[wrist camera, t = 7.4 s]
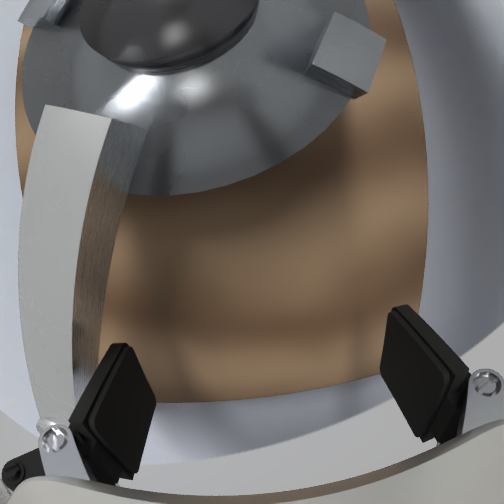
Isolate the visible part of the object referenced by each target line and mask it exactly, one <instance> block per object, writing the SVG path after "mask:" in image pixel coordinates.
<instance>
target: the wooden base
mask: <svg viewBox="0 0 504 504" xmlns="http://www.w3.org/2000/svg"><path fill="white" fill-rule="evenodd" d="M364 1H365V4H366V8H367V11H368V15H369V22H370V30H371V31H373V32H375V33H376V34H378V35H380V36H381V37H383V38H385V39H386V43H385V46H384V49H383V52H382V55H381V58H380V61H379V64H378V67H377V70H376V73H375V75H374V78H373V81H372V84H371V87H370V89H369V92H368V93H367V94H365V95H363V96H361V97H358V98H356V99H354V100H353V99H352V98H351V99H350V100H349V102H348V103H347V105H346V106H345V108H344V109H343V111H342V112H341V113H340V114H339V115H338V117H337V118H336V119H335V120H334V121H333V122H332V123H331V124H330V125H329V126H328V127H327V128H326V130H325V131H323V132H322V133H321V134H320V135H319V136H317V137H316V138H315V139H314V140H313V141H311V142H310V143H309V144H308V145H307V146H305V147H304V148H303V149H301V150H299V151H298V152H296V153H295V154H293V155H292V156H290V157H289V158H287V159H285V160H284V161H282V162H281V163H279V164H277V165H275V166H273V167H271V168H269V169H267V170H265V171H262V172H260V173H258V174H256V175H254V176H252V177H249V178H246V179H243V180H240V181H238V182H235V183H232V184H229V185H226V186H222V187H218V188H214V189H210V190H205V191H201V192H196V193H187V194H179V195H171V196H167V195H163V196H144V195H136V194H128V193H127V196H126V200H125V204H124V207H123V211H122V215H121V219H120V223H119V227H118V232H117V236H116V240H115V245H114V250H113V255H112V260H111V265H110V270H109V276H108V282H107V288H106V294H105V301H104V309H103V317H102V325H101V335H100V346H99V360H98V365H99V364H100V362H101V360H102V358H103V357H104V355H105V353H106V352H107V350H108V348H109V347H110V345H111V344H112V343H127V344H128V345H129V346H131V347H132V348H133V349H134V351H135V353H136V356H137V358H138V360H139V363H140V365H141V367H142V369H143V372H144V374H145V376H146V378H147V380H148V382H149V384H150V387H151V389H152V391H153V393H154V395H155V397H156V402H161V403H183V402H212V401H228V400H240V399H250V398H259V397H268V396H275V395H282V394H289V393H295V392H301V391H307V390H312V389H317V388H323V387H327V386H332V385H337V384H341V383H346V382H350V381H354V380H358V379H362V378H366V377H369V376H373V375H377V374H380V362H381V356H382V350H383V344H384V337H385V330H386V323H387V316H388V313H389V312H391V310H392V308H393V307H396V306H400V305H405V304H407V305H409V306H410V307H411V308H412V309H413V310H414V311H415V312H416V313H417V314H418V312H419V306H420V300H421V293H422V285H423V277H424V268H425V258H426V245H427V227H428V174H427V156H426V143H425V133H424V125H423V117H422V110H421V103H420V97H419V92H418V86H417V81H416V76H415V72H414V67H413V63H412V59H411V55H410V51H409V47H408V43H407V40H406V36H405V33H404V30H403V26H402V23H401V20H400V17H399V14H398V11H397V9H396V6H395V3H394V0H364ZM32 30H33V28H31V27H29V26H27V25H25V24H24V26H23V32H22V37H21V43H20V50H19V58H18V67H17V78H16V97H15V127H16V147H17V159H18V168H19V176H20V183H21V190H22V196H23V195H24V189H25V183H26V177H27V172H28V167H29V162H30V157H31V153H32V149H33V145H34V141H35V137H36V136H35V134H34V132H33V130H32V128H31V126H30V124H29V121H28V118H27V115H26V111H25V108H24V102H23V96H22V68H23V60H24V55H25V51H26V47H27V43H28V40H29V37H30V35H31V32H32Z"/></svg>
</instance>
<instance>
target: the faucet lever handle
mask: <svg viewBox="0 0 504 504" xmlns="http://www.w3.org/2000/svg"><path fill="white" fill-rule="evenodd" d="M18 21H19V22H21V23H23V24H25V25H27V26H29V27H31V28H33V30H32V32H31V35H30V37H29V40H28V43H27V47H26V51H25V55H24V60H23V68H22V96H23V102H24V108H25V111H26V115H27V118H28V121H29V124H30V126H31V128H32V130H33V132H34V134H35V136H36V137H35V141H34V145H33V149H32V153H31V157H30V162H29V167H28V172H27V177H26V183H25V189H24V195H23V203H22V211H21V220H20V232H19V250H18V290H19V308H20V319H21V329H22V337H23V344H24V351H25V357H26V362H27V368H28V373H29V377H30V382H31V386H32V390H33V394H34V398H35V402H36V405H37V409H38V412H39V416H40V419H39V421H38V422H37V424H36V427H37V430H38V432H39V433H40V434H41V433H42V432H43V431H44V430H45V429H46V428H47V427H49V426H51V425H54V424H63V425H66V426H67V427H69V425H70V423H69V421H68V420H69V418H70V416H71V414H72V412H73V410H74V408H75V406H76V405H77V403H78V401H79V399H80V397H81V395H82V394H83V392H84V390H85V388H86V386H87V385H88V383H89V381H90V379H91V377H92V376H93V374H94V372H95V370H96V369H97V367H98V360H99V346H100V335H101V325H102V317H103V309H104V301H105V294H106V288H107V282H108V276H109V270H110V265H111V260H112V255H113V250H114V245H115V240H116V236H117V232H118V227H119V223H120V219H121V215H122V211H123V207H124V204H125V200H126V196H127V193H128V194H136V195H144V196H163V195H167V196H171V195H179V194H187V193H196V192H201V191H205V190H210V189H214V188H218V187H222V186H226V185H229V184H232V183H235V182H238V181H240V180H243V179H246V178H249V177H252V176H254V175H256V174H258V173H260V172H262V171H265V170H267V169H269V168H271V167H273V166H275V165H277V164H279V163H281V162H282V161H284V160H285V159H287V158H289V157H290V156H292V155H293V154H295V153H296V152H298V151H299V150H301V149H303V148H304V147H305V146H307V145H308V144H309V143H310V142H311V141H313V140H314V139H315V138H316V137H317V136H319V135H320V134H321V133H322V132H323V131H325V130H326V128H327V127H328V126H329V125H330V124H331V123H332V122H333V121H334V120H335V119H336V118H337V117H338V115H339V114H340V113H341V112H342V111H343V109H344V108H345V106H346V105H347V103H348V102H349V100H350V99H351V98H352V99H353V100H354V99H356V98H358V97H361V96H363V95H365V94H367V93H368V92H369V89H370V87H371V84H372V81H373V78H374V75H375V73H376V70H377V67H378V64H379V61H380V58H381V55H382V52H383V49H384V46H385V43H386V39H385V38H383V37H381V36H380V35H378V34H376V33H375V32H373V31H371V30H370V22H369V15H368V11H367V8H366V4H365V1H364V0H30V1H29V2H28V4H27V6H26V7H25V9H24V11H23V12H22V14H21V16H20V18H19V19H18Z"/></svg>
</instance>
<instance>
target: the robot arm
mask: <svg viewBox="0 0 504 504" xmlns="http://www.w3.org/2000/svg"><path fill="white" fill-rule="evenodd" d="M468 371H469V368H468V367H467V366H466V365H465V364H464V362H463V361H462V360H461V359H460V358H459V357H458V356H457V355H456V354H455V352H454V351H453V350H452V349H451V348H450V347H449V346H448V345H447V344H446V343H445V342H444V341H443V340H442V339H441V337H440V336H439V335H438V334H437V333H436V332H435V331H434V330H433V329H432V328H431V327H430V326H429V325H428V324H427V323H426V322H425V321H424V320H423V319H422V318H421V317H420V316H419V315H418V314H417V313H416V312H415V311H414V310H413V309H412V308H411V307H410V306H409V305H407V304H405V305H400V306H396V307H393V308H392V310H391V312H389V313H388V316H387V323H386V330H385V337H384V344H383V350H382V356H381V362H380V374H381V376H382V378H383V379H384V381H385V383H386V385H387V386H388V388H389V390H390V392H391V393H392V395H393V397H394V399H395V400H396V402H397V404H398V406H399V407H400V409H401V411H402V413H403V415H404V416H405V418H406V420H407V422H408V424H409V426H410V428H411V430H412V431H413V433H414V435H415V436H416V437H420V439H421V440H422V442H426V441H428V440H430V439H432V438H434V437H435V439H436V440H437V446H436V447H435V448H432V449H430V450H428V451H426V452H423V453H421V454H419V455H417V456H414V457H411V458H409V459H406V460H404V461H401V462H399V463H396V464H393V465H391V466H388V467H385V468H383V469H380V470H376V471H373V472H370V473H367V474H364V475H360V476H357V477H353V478H349V479H346V480H342V481H338V482H333V483H329V484H324V485H320V486H315V487H310V488H304V489H299V490H292V491H284V492H276V493H267V494H257V495H256V494H255V495H239V496H194V495H177V494H166V493H157V492H150V491H143V490H135V489H129V488H123V487H120V485H119V484H118V481H119V478H124V479H129V480H133V476H134V473H137V472H138V470H139V466H140V462H141V458H142V454H143V451H144V447H145V443H146V439H147V435H148V432H149V428H150V424H151V421H152V417H153V413H154V410H155V406H156V397H155V395H154V393H153V391H152V389H151V387H150V384H149V382H148V380H147V378H146V376H145V374H144V372H143V369H142V367H141V365H140V363H139V360H138V358H137V356H136V353H135V351H134V349H133V348H132V347H131V346H129V345H128V344H127V343H112V344H111V345H110V347H109V348H108V350H107V352H106V353H105V355H104V357H103V358H102V360H101V362H100V364H99V365H98V367H97V369H96V370H95V372H94V374H93V376H92V377H91V379H90V381H89V383H88V385H87V386H86V388H85V390H84V392H83V394H82V395H81V397H80V399H79V401H78V403H77V405H76V406H75V408H74V410H73V412H72V414H71V416H70V418H69V420H68V421H69V423H70V425H69V427H67V426H66V425H63V424H54V425H51V426H49V427H47V428H46V429H45V430H44V431H43V432H42V433H41V435H40V437H39V441H38V442H39V443H38V445H39V448H37V449H35V450H33V451H30V452H28V453H26V454H24V455H21V456H19V457H17V458H14V459H12V460H10V461H9V462H7V463H6V464H5V466H4V468H3V469H2V479H1V478H0V504H504V380H503V378H502V376H501V375H500V374H499V373H497V372H495V371H494V370H491V369H480V370H477V371H475V372H474V373H473V374H472V375H471V374H470V373H469V372H468Z"/></svg>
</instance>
